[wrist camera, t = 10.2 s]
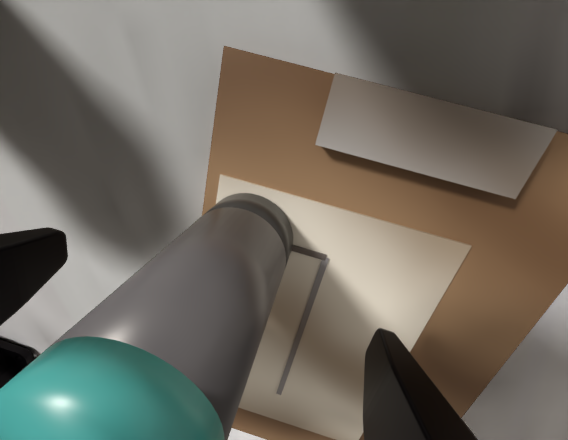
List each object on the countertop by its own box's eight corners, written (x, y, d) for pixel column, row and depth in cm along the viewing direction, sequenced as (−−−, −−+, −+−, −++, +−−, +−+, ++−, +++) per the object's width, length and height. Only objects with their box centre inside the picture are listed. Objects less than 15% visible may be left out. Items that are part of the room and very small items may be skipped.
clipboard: (404, 473, 16) (410, 505, 15) (182, 399, 17) (169, 423, 16) (645, 154, 9) (697, 165, 8) (230, 48, 10) (213, 41, 8)
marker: (281, 284, 12) (184, 580, 5) (201, 259, 12) (-8, 503, 5) (303, 208, 10) (212, 462, 3) (212, 181, 11) (-61, 363, 3)
